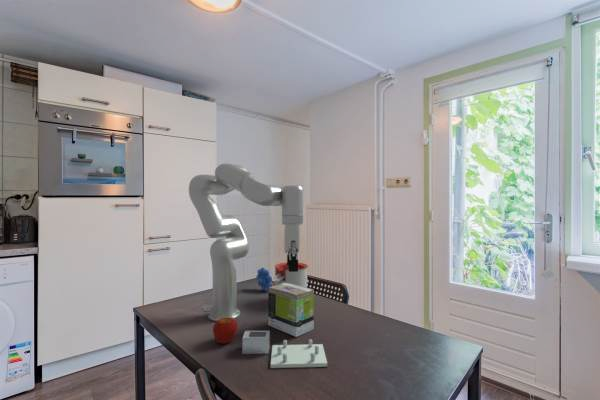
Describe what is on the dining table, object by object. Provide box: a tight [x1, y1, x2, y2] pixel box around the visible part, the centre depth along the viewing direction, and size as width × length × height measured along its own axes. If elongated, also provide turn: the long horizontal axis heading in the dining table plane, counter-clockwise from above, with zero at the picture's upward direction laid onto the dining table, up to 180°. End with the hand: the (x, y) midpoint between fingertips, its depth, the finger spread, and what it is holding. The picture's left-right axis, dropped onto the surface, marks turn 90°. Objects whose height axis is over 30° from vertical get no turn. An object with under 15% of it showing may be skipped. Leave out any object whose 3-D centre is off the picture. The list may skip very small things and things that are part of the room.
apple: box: [212, 317, 239, 345], centre depth 97 cm, size 8×8×8 cm
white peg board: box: [270, 338, 328, 369], centre depth 87 cm, size 16×11×3 cm
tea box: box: [267, 283, 315, 338], centre depth 108 cm, size 15×10×15 cm
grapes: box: [256, 267, 273, 292], centre depth 152 cm, size 12×7×12 cm, turn 49°
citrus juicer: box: [273, 262, 309, 288], centre depth 135 cm, size 16×17×20 cm
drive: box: [241, 330, 271, 355], centre depth 92 cm, size 8×5×5 cm, turn 91°
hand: (292, 268), depth 103 cm, fingers open, 9 cm apart
